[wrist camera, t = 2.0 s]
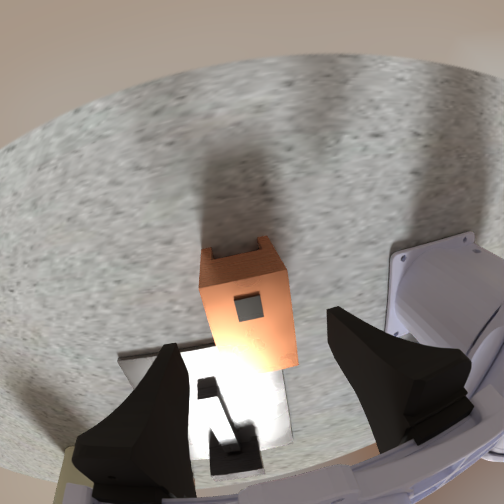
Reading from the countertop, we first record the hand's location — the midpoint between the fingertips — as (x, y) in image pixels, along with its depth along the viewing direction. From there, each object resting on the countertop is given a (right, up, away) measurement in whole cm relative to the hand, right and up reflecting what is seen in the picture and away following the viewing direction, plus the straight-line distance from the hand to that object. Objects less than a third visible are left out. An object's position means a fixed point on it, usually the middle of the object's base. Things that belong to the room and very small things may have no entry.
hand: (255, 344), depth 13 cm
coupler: (-3, -10, +10) cm, 14 cm away
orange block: (-1, +2, +6) cm, 6 cm away
